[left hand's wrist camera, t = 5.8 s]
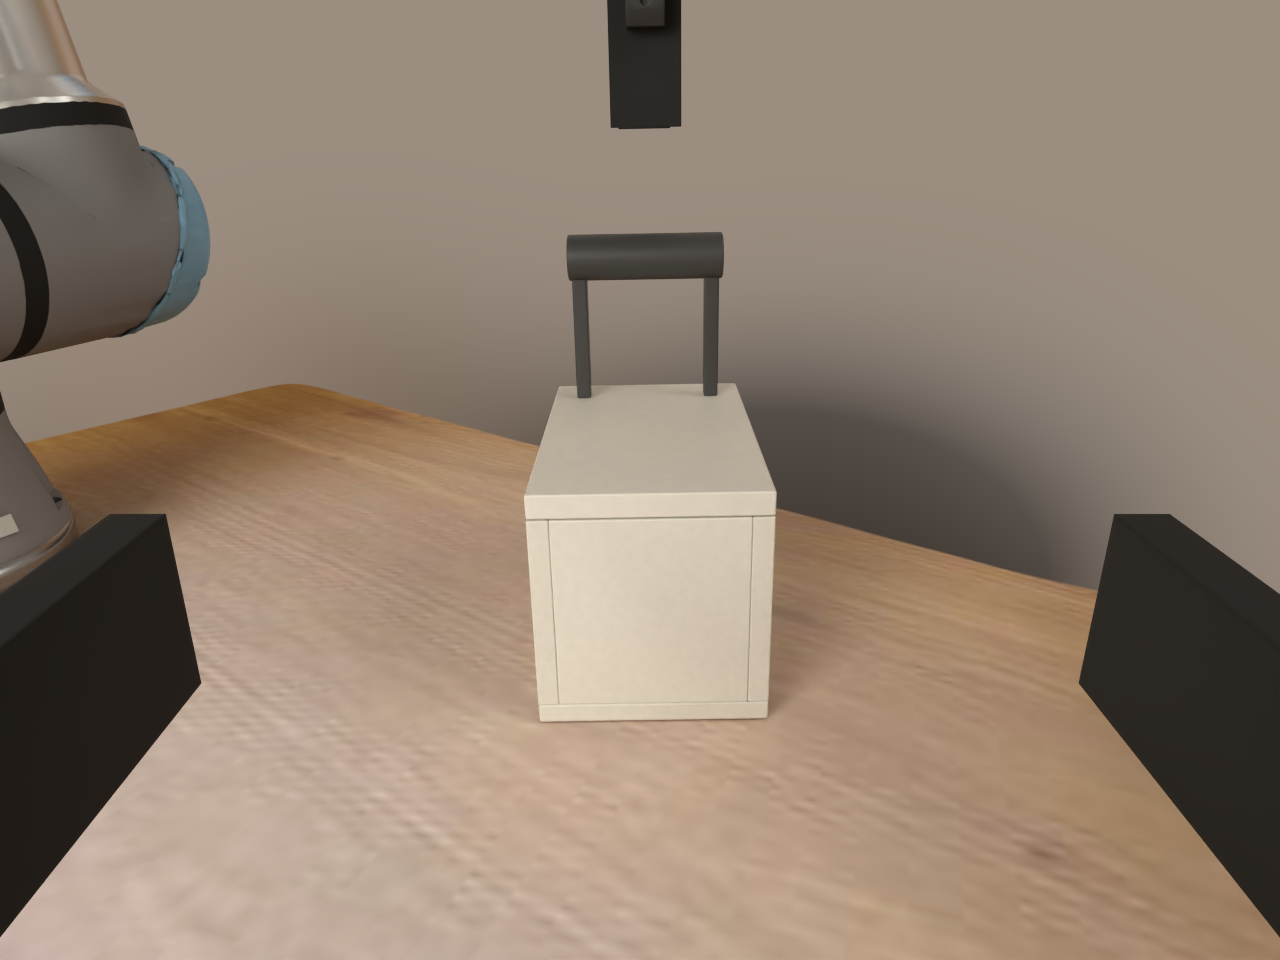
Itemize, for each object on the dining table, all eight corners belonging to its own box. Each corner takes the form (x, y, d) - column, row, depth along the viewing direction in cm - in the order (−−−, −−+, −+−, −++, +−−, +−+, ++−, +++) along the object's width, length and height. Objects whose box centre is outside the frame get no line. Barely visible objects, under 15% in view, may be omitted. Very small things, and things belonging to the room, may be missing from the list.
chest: (566, 563, 51) (558, 409, 47) (733, 560, 51) (736, 405, 47) (539, 722, 37) (525, 521, 34) (767, 719, 37) (776, 517, 34)
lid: (559, 403, 48) (550, 230, 45) (734, 400, 48) (738, 227, 45) (525, 520, 34) (508, 277, 30) (776, 516, 34) (785, 271, 30)
